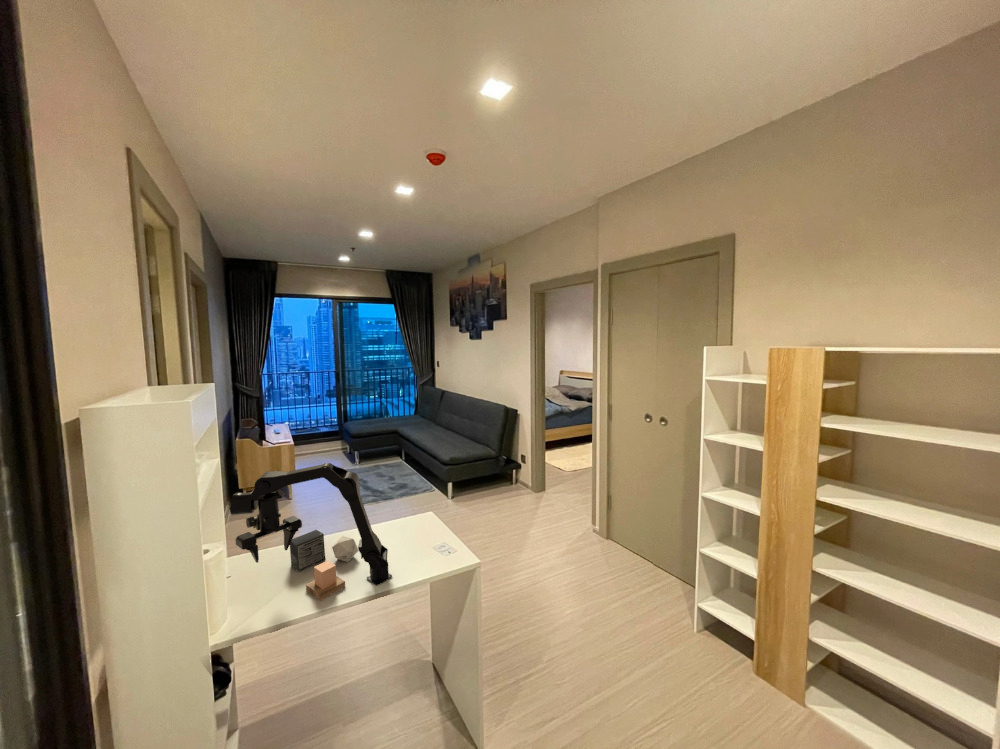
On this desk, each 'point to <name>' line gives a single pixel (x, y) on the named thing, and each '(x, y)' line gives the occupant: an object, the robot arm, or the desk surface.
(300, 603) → the desk surface
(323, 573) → the terracotta cube
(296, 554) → the small box
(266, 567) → the desk surface
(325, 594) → the walnut slab
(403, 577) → the desk surface
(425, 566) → the desk surface
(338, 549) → the die
